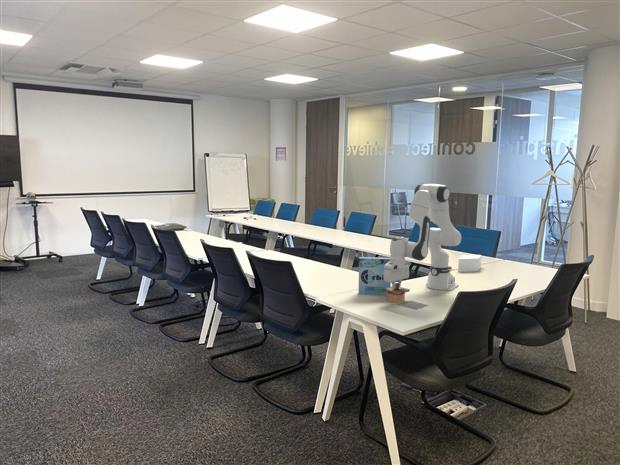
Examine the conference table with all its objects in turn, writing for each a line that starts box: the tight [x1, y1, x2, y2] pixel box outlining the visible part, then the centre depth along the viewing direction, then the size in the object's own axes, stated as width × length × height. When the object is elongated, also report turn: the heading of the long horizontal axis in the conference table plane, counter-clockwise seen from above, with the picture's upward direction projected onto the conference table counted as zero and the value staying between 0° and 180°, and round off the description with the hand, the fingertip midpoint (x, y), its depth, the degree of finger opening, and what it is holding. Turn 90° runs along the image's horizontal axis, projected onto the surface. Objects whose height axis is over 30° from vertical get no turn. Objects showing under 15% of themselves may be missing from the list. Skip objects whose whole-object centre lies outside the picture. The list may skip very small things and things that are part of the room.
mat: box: [396, 300, 430, 311], centre depth 261 cm, size 13×13×1 cm
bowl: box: [386, 292, 406, 303], centre depth 272 cm, size 10×10×4 cm
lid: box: [383, 282, 411, 294], centre depth 271 cm, size 11×11×4 cm
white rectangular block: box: [457, 254, 482, 273], centre depth 360 cm, size 14×29×10 cm, turn 126°
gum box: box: [358, 256, 392, 297], centre depth 283 cm, size 20×5×23 cm, turn 81°
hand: (396, 287), depth 271 cm, fingers closed on lid, 3 cm apart
